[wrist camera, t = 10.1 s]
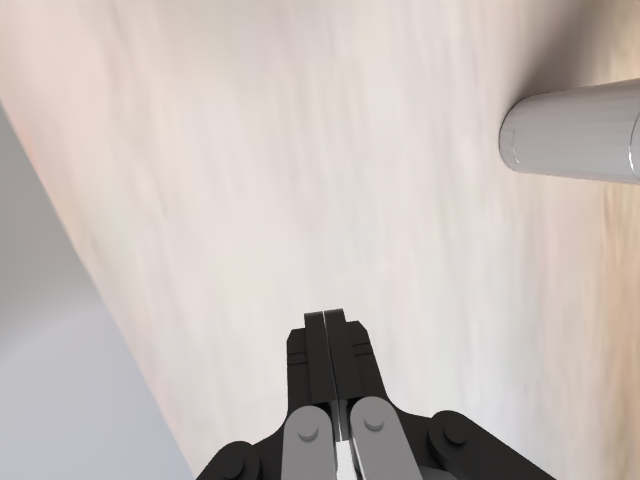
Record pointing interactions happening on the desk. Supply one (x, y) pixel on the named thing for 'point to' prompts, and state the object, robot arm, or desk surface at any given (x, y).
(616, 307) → the desk surface
